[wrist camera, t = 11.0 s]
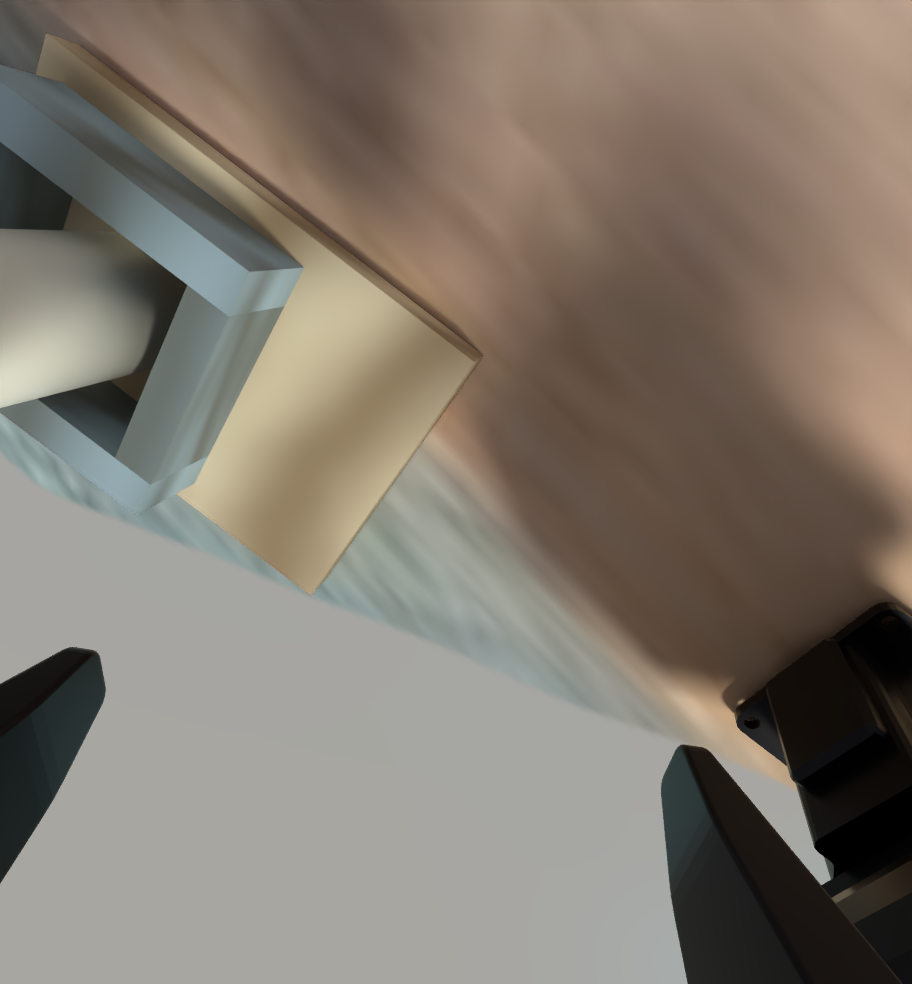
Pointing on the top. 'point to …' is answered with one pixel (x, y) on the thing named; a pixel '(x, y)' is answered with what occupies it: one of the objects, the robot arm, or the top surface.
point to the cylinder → (78, 310)
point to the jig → (222, 328)
